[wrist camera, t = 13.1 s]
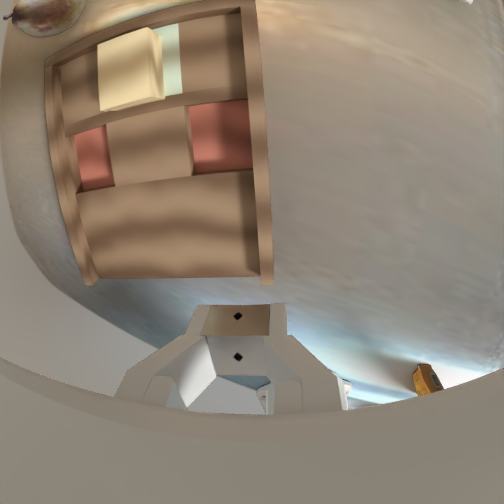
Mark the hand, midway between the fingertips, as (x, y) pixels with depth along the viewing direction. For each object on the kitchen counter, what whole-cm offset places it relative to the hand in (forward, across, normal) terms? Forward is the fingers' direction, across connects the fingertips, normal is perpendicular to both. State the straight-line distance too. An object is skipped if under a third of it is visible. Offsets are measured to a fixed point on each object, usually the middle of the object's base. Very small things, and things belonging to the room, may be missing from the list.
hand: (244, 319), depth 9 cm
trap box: (+24, +13, -6) cm, 28 cm away
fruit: (+24, +25, -31) cm, 47 cm away
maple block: (+22, +13, -15) cm, 29 cm away
